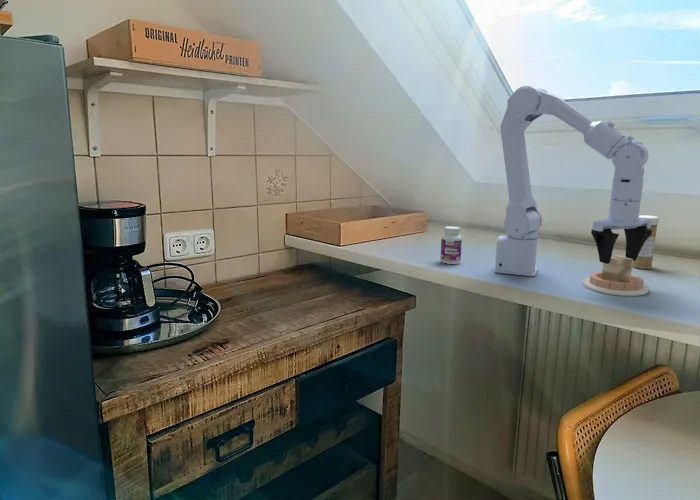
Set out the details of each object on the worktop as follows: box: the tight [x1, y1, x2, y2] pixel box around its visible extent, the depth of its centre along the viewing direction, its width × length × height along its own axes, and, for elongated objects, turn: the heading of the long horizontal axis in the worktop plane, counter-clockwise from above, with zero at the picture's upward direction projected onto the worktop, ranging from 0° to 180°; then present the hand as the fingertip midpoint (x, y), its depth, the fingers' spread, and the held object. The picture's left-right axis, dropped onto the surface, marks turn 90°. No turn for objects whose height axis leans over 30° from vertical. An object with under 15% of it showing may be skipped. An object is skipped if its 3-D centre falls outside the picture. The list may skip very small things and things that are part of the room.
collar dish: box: [582, 270, 650, 297], centre depth 109 cm, size 13×13×2 cm
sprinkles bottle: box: [632, 214, 660, 270], centre depth 125 cm, size 5×5×14 cm
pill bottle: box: [440, 225, 463, 265], centre depth 131 cm, size 5×5×10 cm
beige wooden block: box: [601, 254, 633, 283], centre depth 109 cm, size 4×4×6 cm
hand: (617, 261), depth 108 cm, fingers open, 7 cm apart
